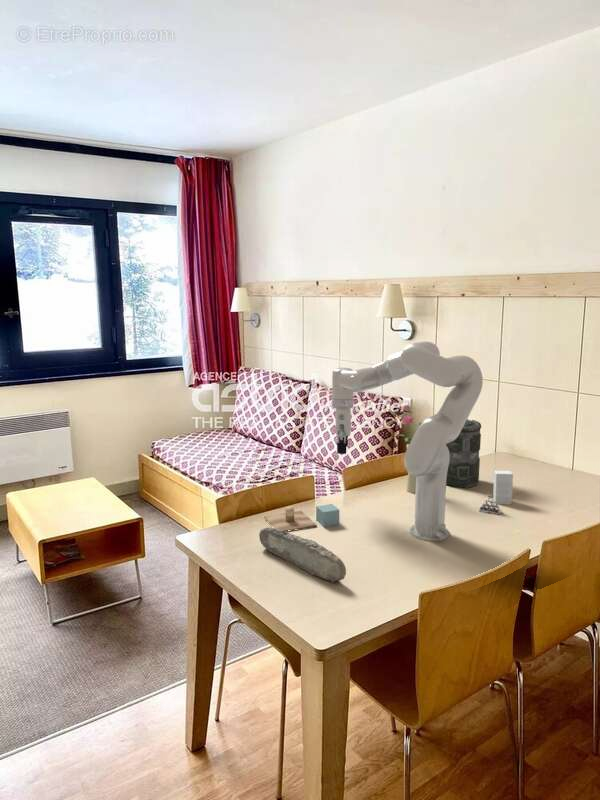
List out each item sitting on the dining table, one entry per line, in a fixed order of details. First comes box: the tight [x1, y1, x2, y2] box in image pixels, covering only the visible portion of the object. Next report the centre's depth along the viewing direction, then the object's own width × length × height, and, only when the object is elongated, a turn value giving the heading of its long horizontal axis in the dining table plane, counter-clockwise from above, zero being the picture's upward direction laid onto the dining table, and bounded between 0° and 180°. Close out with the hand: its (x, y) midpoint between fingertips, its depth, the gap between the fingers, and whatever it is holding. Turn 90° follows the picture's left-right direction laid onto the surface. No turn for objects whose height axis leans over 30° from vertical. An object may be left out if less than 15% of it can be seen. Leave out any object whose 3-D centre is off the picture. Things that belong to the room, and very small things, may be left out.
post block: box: [263, 506, 318, 531], centre depth 200 cm, size 14×14×6 cm
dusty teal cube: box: [315, 503, 340, 528], centre depth 200 cm, size 6×6×6 cm
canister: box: [446, 418, 482, 489], centre depth 241 cm, size 16×16×28 cm
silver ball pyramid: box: [478, 492, 502, 516], centre depth 211 cm, size 9×9×8 cm
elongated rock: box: [258, 527, 347, 584], centre depth 168 cm, size 35×5×10 cm, turn 45°
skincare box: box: [492, 470, 514, 505], centre depth 218 cm, size 6×4×12 cm
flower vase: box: [393, 404, 423, 494], centre depth 228 cm, size 12×12×35 cm
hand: (342, 449), depth 209 cm, fingers open, 9 cm apart
